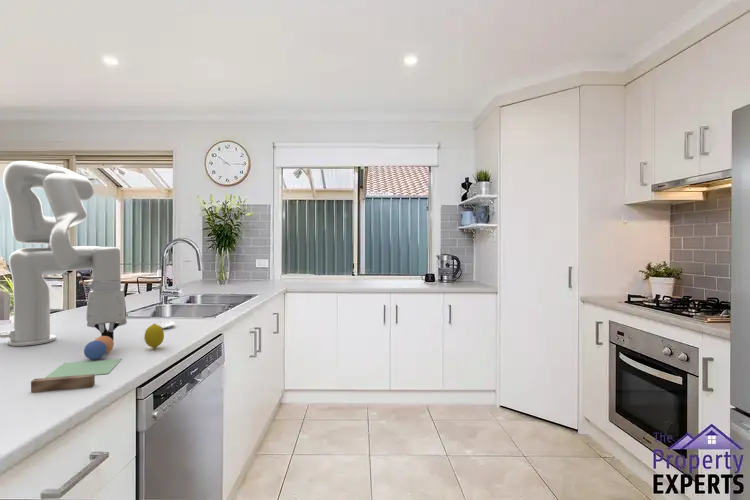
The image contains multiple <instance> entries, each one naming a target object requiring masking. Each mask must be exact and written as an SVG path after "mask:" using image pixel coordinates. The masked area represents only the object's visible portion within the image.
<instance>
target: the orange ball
mask: <svg viewBox="0 0 750 500" xmlns="http://www.w3.org/2000/svg"><path fill="white" fill-rule="evenodd" d="M93 341H101V342H103V343H104V344H105V345H106V348H107V350H106V353H105V355H106V354H108V353H110V352H111V351H112V350H113V349H114V345H115V343H114V339H113V340H112V339H111V338H110V337H108V336H98V337H97V338H95V339H94V340H93Z"/></svg>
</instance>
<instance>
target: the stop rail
mask: <svg viewBox="0 0 750 500" xmlns="http://www.w3.org/2000/svg"><path fill="white" fill-rule="evenodd" d="M95 377H96V375H95V374H89V375H77V376H64V377H51V378H45V377H42V378H40V377H39V378H33V380H31V381H30V393H41V392H51V391H62V390H63V391H64V390H75V389H76V390H77V389H86V388H93V387H94V386H95V384H96V383H95V379H96V378H95Z"/></svg>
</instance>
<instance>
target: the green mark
mask: <svg viewBox="0 0 750 500" xmlns="http://www.w3.org/2000/svg"><path fill="white" fill-rule="evenodd" d="M121 361H122V358H118V359H117V358H115V359H103V360H102V359H101V360H100V359H98V360H89V361H87V360H85V361H71V362H64V363H62V364H61V365H59V366H58V367H57V368H56V369H55V370H53V371H51V372H50V373H49V374H47V375H46V376H45V377H44V378H51V377H64V376H77V375H89V374H95V376H101V375H109V374H110V373H111V372H112V371H113V370H114V369H115V367H116V366H117V365H118V364H119V363H120V362H121Z"/></svg>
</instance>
